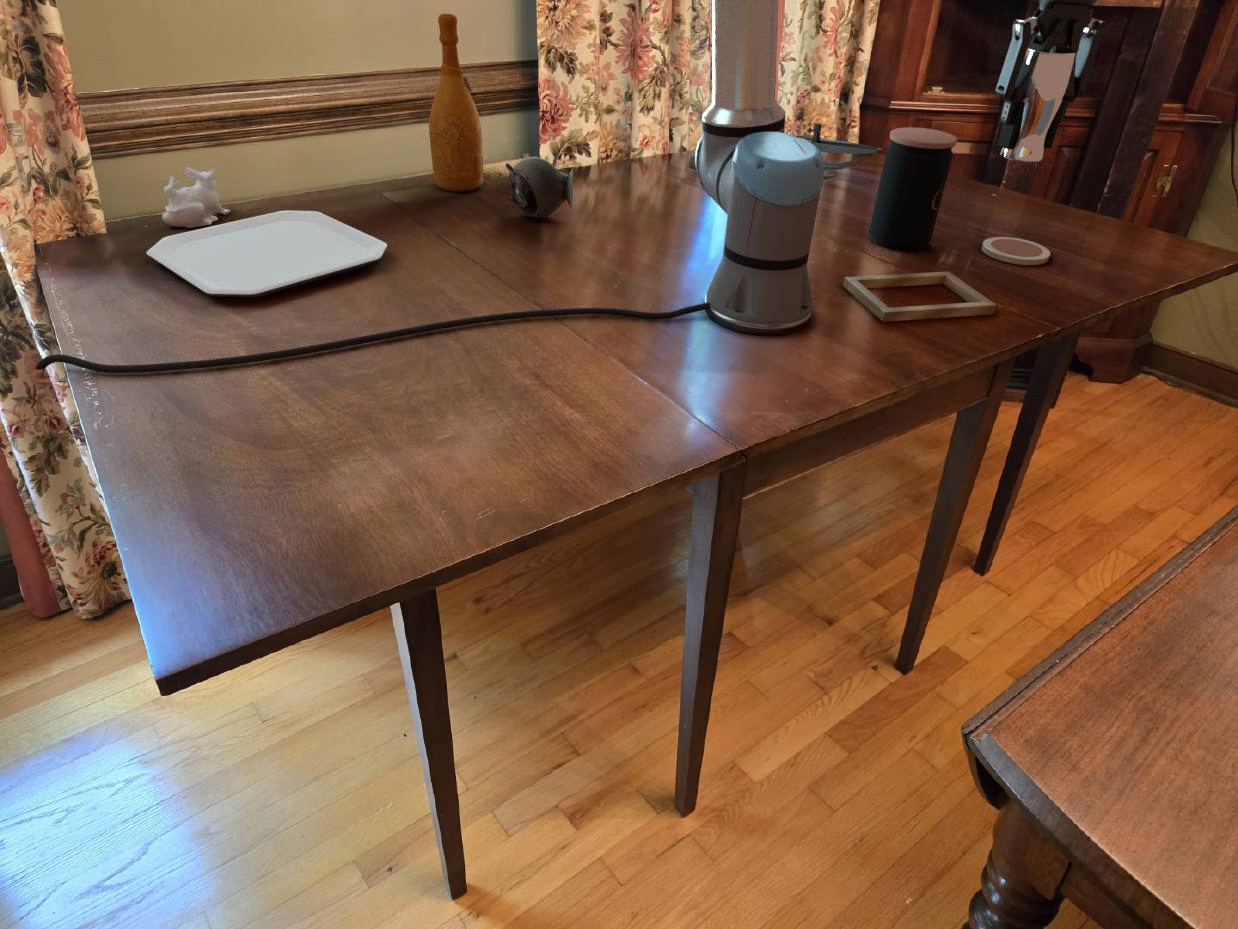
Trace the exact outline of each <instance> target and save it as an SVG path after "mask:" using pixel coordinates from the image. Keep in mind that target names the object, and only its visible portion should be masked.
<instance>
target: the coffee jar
mask: <svg viewBox="0 0 1238 929" xmlns="http://www.w3.org/2000/svg"><path fill="white" fill-rule="evenodd" d="M889 139H890V141H891V142H890V143H889V144H888V146H887V148H886V150H885V155H884V160H883V165H882V170H881V174H880V177H879V183H878V188H877V192H876V196H875V201H874V206H873V210H872V215H871V220H870V225H869V230H868V233H869V236H870V239H871V241H872V243H874V244H876V245H877V246H880V247H883V248H886V249H890V250H895V251H900V252H901V251H903V252H914V251H921V250H923V249H924V248H926V246H927V245H929V243H930V242H931V241H932V239H933V238H932V237H933V235H934V234H933V233H934V230H935V226H936V222H937V218H938V214H939V210H940V207H941V202H942V199H943V195H944V191H945V188H946V183H947V180H948V177H949V172H950V169H951V165H952V161H953V157H954V152H953V150H952V149H953V148H954V147H955V146H956V145H957V141H958V138H957V137H956V136H955V135H954V134H951V133H950V132H946V131H943V130H938V129H933V128H927V127H911V126H910V127H897V128H894V129H891V130H890V133H889Z"/></svg>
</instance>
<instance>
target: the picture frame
mask: <svg viewBox="0 0 1238 929" xmlns="http://www.w3.org/2000/svg"><path fill="white" fill-rule="evenodd" d="M931 285H944V286H945V287H947V288H948V289H950V291H952V292H953V293H954V294H956V295H957V296H959V297H960V298H961V299H963V300H965V301H966V302H958V303H943V304H942V303H941V304H925V305H910V306H896V307H895V306H894V307H889V306H888V305H887V304H885V303H884V302H883V301H882V300H881V299H879V298H878V297H877V296H876V295H875V294H874V293H873V292H871V291H870V290H869V289H879V288H896V287H915V286H931ZM842 287H843V288H845V289H846V290H847V291H848V292H849V293H850V294H851V295H852V296H853V297H854V298H855V299H857V300H858V301H859V302H860V303H861V304H862V305H864V306H865V308H867V309H868V310H869V311H870V312H871V313H872V314H873V315H874V316H875V317H877V318H878V319H879V320H880V321H881V322H882V323H883V322H884V323H885V322H899V321H900V322H901V321H913V320H915V321H916V320H929V319H947V318H959V317H961V318H962V317H975V316H987V315H989V316H990V315H995V310H996V308H997V304H996V303H995V302H993V301H991V300H990V299H989V298H987V297H986V296H984V295H983V294H982V293H980V292H979V291H977V290H976V289H974V288H973V287H972V286H970V285H968V284H967V283H966V282H964V280H962V279H961V278H959V277H957V276H956V275H955V274H953V273H951V271H932V272H930V271H929V272H914V273H913V272H912V273H897V274H894V273H893V274H879V275H878V274H877V275H876V274H875V275H862V276H861V275H860V276H859V275H858V276H844V279H843V285H842Z"/></svg>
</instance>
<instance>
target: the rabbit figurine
mask: <svg viewBox="0 0 1238 929" xmlns="http://www.w3.org/2000/svg"><path fill="white" fill-rule="evenodd" d="M215 172H216V168H212V169H211V170H209V171H198V170H196V169H194V168H191V167H188V166H186V167H185V171H184V176H185V177H187V178H191V179H195V184H193V185H192V186H183V187H181V188H179V189H176V188H177V187H179V186H180V185H181V183H182V182H181V180H179V179H178V180H176V181H175V182H174V180H175V176H174V175H171V176H170V177H169V180H168V181H169V182H168V184H167V185H165V186H164V188H163V193H164V195H165V197H167V198H168V205H165V207H164V208H165V213H162V215H161V218H162V220H163V222H164V223H166V225H169V226H172V227H176V228H188V229H193V228H197V227H204V226H210V225H212V224H213V223H212V222H215V221H218V220H219V218H218V217H217V216H216V215H212V212H213V213H218V214H221V215H224V216H225V215H228V214H229V213H231V210H230V209H228V208H223V207H222V205H221V204H219V201H220V199H219V195H218V192H217V187H218V186H217V182H216V179H215V178H216V177H215Z"/></svg>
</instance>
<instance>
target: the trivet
mask: <svg viewBox="0 0 1238 929" xmlns="http://www.w3.org/2000/svg"><path fill="white" fill-rule="evenodd" d="M981 251H982V252H983V253H984V254H985V255H986V256H989V257H990V258H992V259H995V260H997V261H1000V262H1004V263H1008V264H1014V265H1019V266H1020V265H1021V266H1039V265H1043V264H1046V263H1048V261H1050V258H1051V251H1050V250H1049V249H1048V248H1047V247H1045V246H1044V245H1041V244H1039V243H1036V242H1034V241H1031V240H1028V239H1023V238H1017V237H1009V236H994V237H989V238H986V239H984V240H983V241H982V244H981Z"/></svg>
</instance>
